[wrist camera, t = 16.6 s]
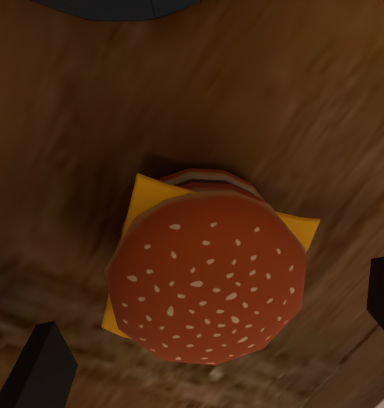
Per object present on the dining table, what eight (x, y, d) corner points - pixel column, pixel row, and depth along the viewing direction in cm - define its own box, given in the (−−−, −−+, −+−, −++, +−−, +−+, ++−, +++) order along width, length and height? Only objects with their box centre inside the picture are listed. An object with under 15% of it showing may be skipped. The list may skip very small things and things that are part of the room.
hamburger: (247, 304, 20) (280, 403, 14) (108, 282, 18) (79, 384, 12) (301, 181, 16) (377, 244, 10) (134, 140, 15) (110, 188, 9)
